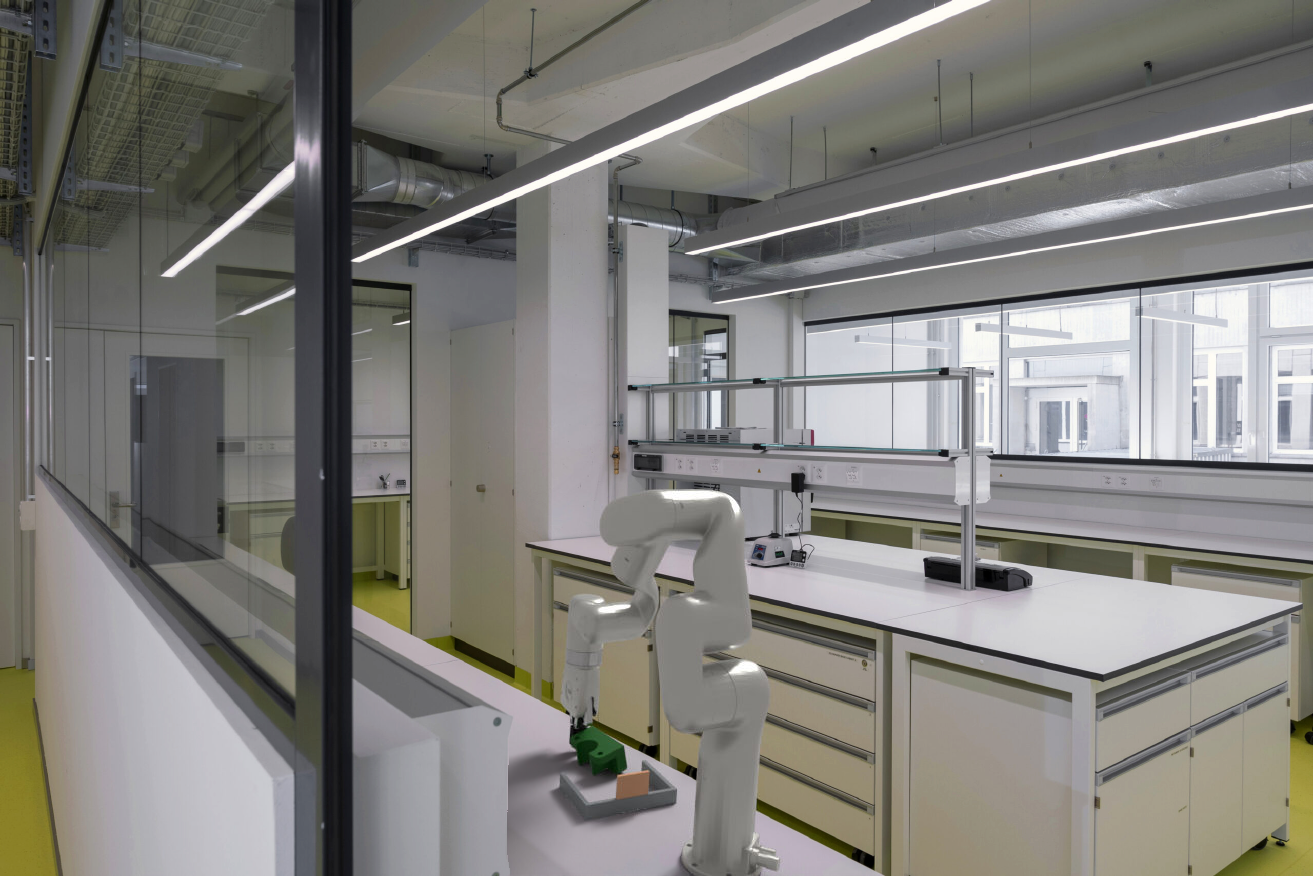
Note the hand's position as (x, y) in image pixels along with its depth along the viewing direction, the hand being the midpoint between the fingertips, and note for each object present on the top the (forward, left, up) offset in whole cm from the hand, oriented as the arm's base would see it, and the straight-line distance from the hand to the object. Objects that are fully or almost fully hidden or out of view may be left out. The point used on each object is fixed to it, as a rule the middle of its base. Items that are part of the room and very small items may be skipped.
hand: (577, 744), depth 159 cm
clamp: (-7, +4, -2) cm, 8 cm away
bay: (-15, +12, -1) cm, 20 cm away
